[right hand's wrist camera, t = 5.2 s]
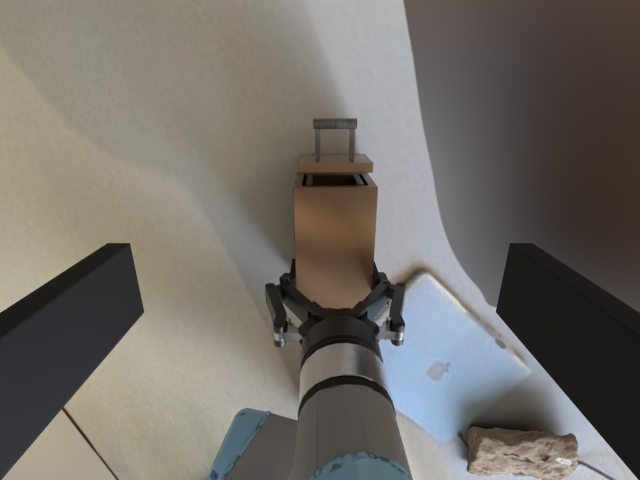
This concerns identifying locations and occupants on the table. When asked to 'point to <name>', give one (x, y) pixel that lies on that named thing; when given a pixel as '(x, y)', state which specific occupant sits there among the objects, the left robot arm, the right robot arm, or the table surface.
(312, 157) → the drawer
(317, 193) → the cabinet
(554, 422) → the table surface
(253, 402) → the table surface
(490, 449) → the stone
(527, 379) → the table surface
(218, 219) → the table surface
